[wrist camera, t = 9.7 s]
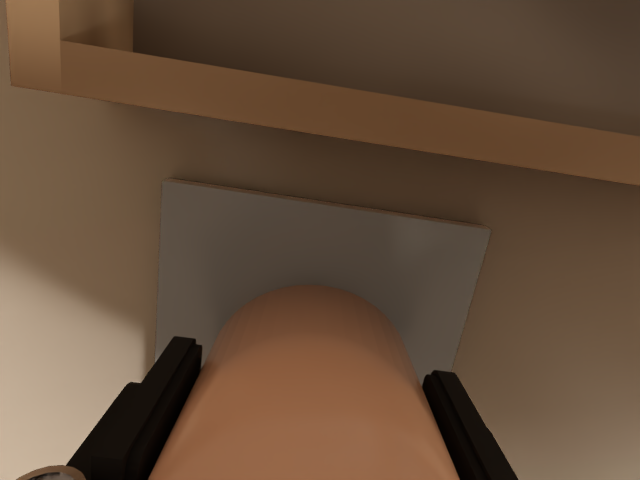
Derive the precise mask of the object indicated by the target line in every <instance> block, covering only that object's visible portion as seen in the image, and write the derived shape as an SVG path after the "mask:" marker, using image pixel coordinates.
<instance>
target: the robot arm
mask: <svg viewBox="0 0 640 480" xmlns="http://www.w3.org/2000/svg"><path fill="white" fill-rule="evenodd" d="M201 362H202V345H198V344H196V339H194V338H187V337H179V336H174V337H173V338H172V339H171V341H170V342H169V344H168V345H167V347H166V348H165V350H164V351H163V352H162V354H161V355H160V357H159V358H158V360H157V361H156V362H155V364H154V365H153V367H152V368H151V370H150V371H149V372H148V374H147V375H146V377H145V378H144V380H143V381H142V383H134V382H130V383H128V384H127V385H126V386H125V387H124V389H123V390H122V391H121V393H120V394H119V395H118V397H117V398H116V399H115V401H114V402H113V403H112V405H111V406H110V407H109V409H108V410H107V411H106V413H105V414H104V415H103V417H102V418H101V419H100V421H99V422H98V423H97V425H96V426H95V427H94V429H93V430H92V431H91V433H90V434H89V435H88V437H87V438H86V439H85V441H84V442H83V443H82V445H81V446H80V447H79V449H78V450H77V451H76V453H75V454H74V455H73V457H72V458H71V459H70V461H69V462H68V463H67V465H66V466H64V465H57V466H47V467H44V468H40V469H37V470H34V471H31V472H29V473H27V474H25V475H23V476H21V477H19V478H18V479H16V480H148V478H149V476H150V474H151V472H152V470H153V468H154V466H155V463H156V461H157V459H158V457H159V455H160V453H161V451H162V449H163V447H164V445H165V443H166V441H167V439H168V437H169V435H170V433H171V431H172V428H173V426H174V424H175V422H176V420H177V418H178V416H179V414H180V412H181V410H182V408H183V406H184V404H185V402H186V400H187V398H188V395H189V393H190V391H191V389H192V387H193V385H194V383H195V381H196V379H197V377H198V375H199V373H200V371H201ZM422 389H423V391H424V394H425V396H426V398H427V401H428V403H429V406H430V408H431V411H432V413H433V416H434V418H435V420H436V423H437V425H438V428H439V430H440V433H441V435H442V437H443V440H444V442H445V445H446V447H447V450H448V452H449V454H450V457H451V459H452V462H453V464H454V467H455V469H456V472H457V474H458V476H459V479H460V480H518V478H517V477H516V475H515V473H514V471H513V470H512V468H511V466H510V464H509V463H508V461H507V459H506V458H505V456H504V454H503V452H502V451H501V449H500V447H499V445H498V444H497V442H496V440H495V438H494V437H493V435H492V433H491V432H490V431H489V429H488V428H487V427H486V426H485V424H484V422H483V420H482V419H481V417H480V415H479V413H478V412H477V410H476V408H475V406H474V405H473V403H472V401H471V399H470V398H469V396H468V394H467V392H466V391H465V389H464V387H463V385H462V384H461V382H460V380H459V378H458V377H457V375H456V374H455V373H454V372H447V371H440V370H433V371H432V373H431V375H429V374H427V375H425V377H424V380H423V384H422Z"/></svg>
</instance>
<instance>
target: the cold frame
mask: <svg viewBox="0 0 640 480" xmlns="http://www.w3.org/2000/svg"><path fill="white" fill-rule="evenodd" d="M6 13H7V29H8V45H9V61H10V77H11V86H16V87H23V88H29V89H35V90H42V91H48V92H54V93H60V94H67V95H73V96H79V97H86V98H92V99H98V100H104V101H111V102H117V103H123V104H129V105H136V106H142V107H148V108H155V109H161V110H167V111H173V112H180V113H186V114H192V115H198V116H205V117H211V118H217V119H224V120H230V121H236V122H242V123H249V124H255V125H261V126H267V127H274V128H280V129H286V130H293V131H299V132H305V133H311V134H318V135H324V136H330V137H337V138H343V139H349V140H355V141H362V142H368V143H374V144H380V145H387V146H393V147H399V148H406V149H412V150H418V151H424V152H431V153H437V154H443V155H449V156H456V157H462V158H468V159H475V160H481V161H487V162H493V163H500V164H506V165H512V166H518V167H525V168H531V169H537V170H544V171H550V172H556V173H562V174H569V175H575V176H581V177H588V178H594V179H600V180H606V181H613V182H619V183H625V184H631V185H638V186H640V0H6Z"/></svg>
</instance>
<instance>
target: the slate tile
mask: <svg viewBox="0 0 640 480" xmlns="http://www.w3.org/2000/svg"><path fill="white" fill-rule="evenodd" d="M491 231H492V230H491V229H489V228H487V227H486V226H484V225H478V224H472V223H465V222H458V221H452V220H445V219H438V218H432V217H425V216H418V215H412V214H405V213H398V212H392V211H385V210H379V209H372V208H365V207H359V206H352V205H345V204H339V203H332V202H325V201H319V200H312V199H305V198H299V197H292V196H285V195H279V194H272V193H265V192H259V191H252V190H245V189H239V188H232V187H225V186H219V185H212V184H206V183H199V182H192V181H186V180H179V179H172V178H168V179H165V180H162V194H161V219H160V243H159V268H158V293H157V318H156V342H155V362H156V361H157V360H158V358H159V357H160V355H161V354H162V352H163V351H164V350H165V348H166V347H167V345H168V344H169V342H170V341H171V339H172V338H173V337H174V336H179V337H187V338H194V339H196V344H198V345H202V362H201V369H202V367H203V365H204V363H205V360H206V358H207V356H208V354H209V352H210V350H211V348H212V346H213V344H214V342H215V340H216V338H217V336H218V334H219V332H220V330H221V329H222V328H223V326H224V325H225V323H226V322H227V321H228V320H229V319H230V317H231V316H232V315H233V314H234V313H235V312H236V311H238V310H239V309H240V308H241V307H243V306H244V305H245V304H246V303H248V302H250V301H251V300H253V299H255V298H256V297H258V296H261V295H263V294H265V293H267V292H270V291H273V290H277V289H280V288H284V287H290V286H296V285H321V286H328V287H333V288H338V289H341V290H344V291H347V292H350V293H353V294H355V295H357V296H359V297H361V298H363V299H365V300H366V301H368V302H369V303H371V304H372V305H374V306H375V307H377V308H378V309H379V310H380V311H381V312H382V313H383V314H385V316H386V317H387V318H388V319H389V320H390V321H391V322H392V324H393V325H394V326H395V328H396V329H397V331H398V333H399V334H400V336H401V338H402V340H403V343H404V345H405V347H406V350H407V352H408V355H409V357H410V359H411V362H412V364H413V367H414V369H415V372H416V374H417V377H418V379H419V381H420V384H421V386H422V384H423V380H424V377H425V375H427V374H429V375H431V373H432V371H433V370H440V371H447V372H451V371H452V367H453V364H454V360H455V357H456V353H457V350H458V346H459V343H460V339H461V336H462V332H463V329H464V325H465V322H466V318H467V315H468V311H469V308H470V304H471V301H472V297H473V294H474V290H475V287H476V283H477V280H478V276H479V273H480V269H481V266H482V262H483V259H484V255H485V252H486V248H487V245H488V241H489V238H490V234H491Z"/></svg>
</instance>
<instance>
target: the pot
mask: <svg viewBox="0 0 640 480" xmlns="http://www.w3.org/2000/svg"><path fill="white" fill-rule="evenodd" d="M148 480H460V479H459V476H458V474H457V472H456V469H455V467H454V464H453V462H452V459H451V457H450V454H449V452H448V450H447V447H446V445H445V442H444V440H443V437H442V435H441V433H440V430H439V428H438V425H437V423H436V420H435V418H434V416H433V413H432V411H431V408H430V406H429V403H428V401H427V398H426V396H425V394H424V391H423V389H422V386H421V384H420V381H419V379H418V377H417V374H416V372H415V369H414V367H413V364H412V362H411V359H410V357H409V355H408V352H407V350H406V347H405V345H404V343H403V340H402V338H401V336H400V334H399V333H398V331H397V329H396V328H395V326H394V325H393V324H392V322H391V321H390V320H389V319H388V318H387V317H386V316H385V314H383V313H382V312H381V311H380V310H379V309H378V308H377V307H375V306H374V305H372V304H371V303H369V302H368V301H366V300H365V299H363V298H361V297H359V296H357V295H355V294H353V293H350V292H347V291H344V290H341V289H338V288H333V287H328V286H321V285H296V286H290V287H284V288H280V289H277V290H273V291H270V292H267V293H265V294H263V295H261V296H258V297H256V298H255V299H253V300H251V301H250V302H248V303H246V304H245V305H244V306H243V307H241V308H240V309H239V310H238V311H236V312H235V313H234V314H233V315H232V316H231V317H230V319H229V320H228V321H227V322H226V323H225V325H224V326H223V328H222V329H221V330H220V332H219V334H218V336H217V338H216V340H215V342H214V344H213V346H212V348H211V350H210V352H209V354H208V356H207V358H206V360H205V363H204V365H203V367H202V369H201V371H200V373H199V375H198V377H197V379H196V381H195V383H194V385H193V387H192V389H191V391H190V393H189V395H188V398H187V400H186V402H185V404H184V406H183V408H182V410H181V412H180V414H179V416H178V418H177V420H176V422H175V424H174V426H173V428H172V431H171V433H170V435H169V437H168V439H167V441H166V443H165V445H164V447H163V449H162V451H161V453H160V455H159V457H158V459H157V461H156V463H155V466H154V468H153V470H152V472H151V474H150V476H149V478H148Z"/></svg>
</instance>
